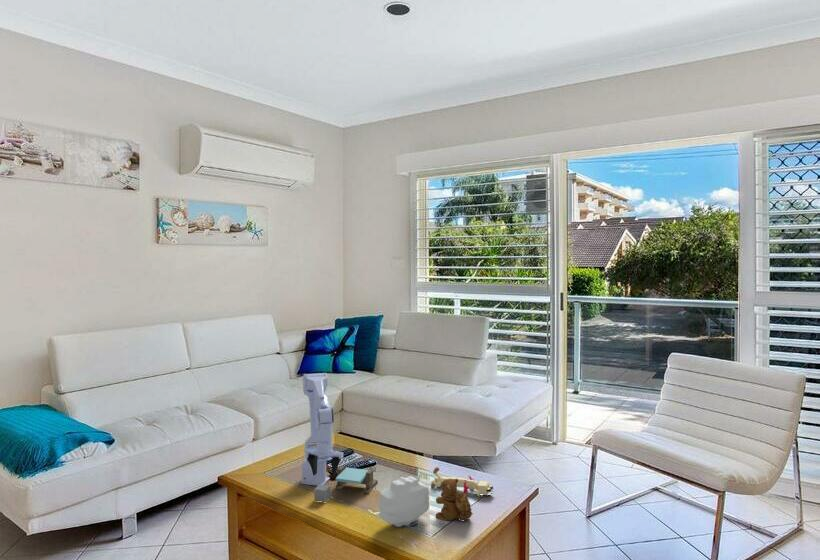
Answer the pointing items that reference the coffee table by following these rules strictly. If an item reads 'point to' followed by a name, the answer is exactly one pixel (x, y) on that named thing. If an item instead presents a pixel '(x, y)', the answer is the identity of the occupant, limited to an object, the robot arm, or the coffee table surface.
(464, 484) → the cat figure
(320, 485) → the stone
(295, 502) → the coffee table surface
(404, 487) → the grey rounded lump
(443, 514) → the stuffed squirrel
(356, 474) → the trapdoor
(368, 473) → the trapdoor frame
